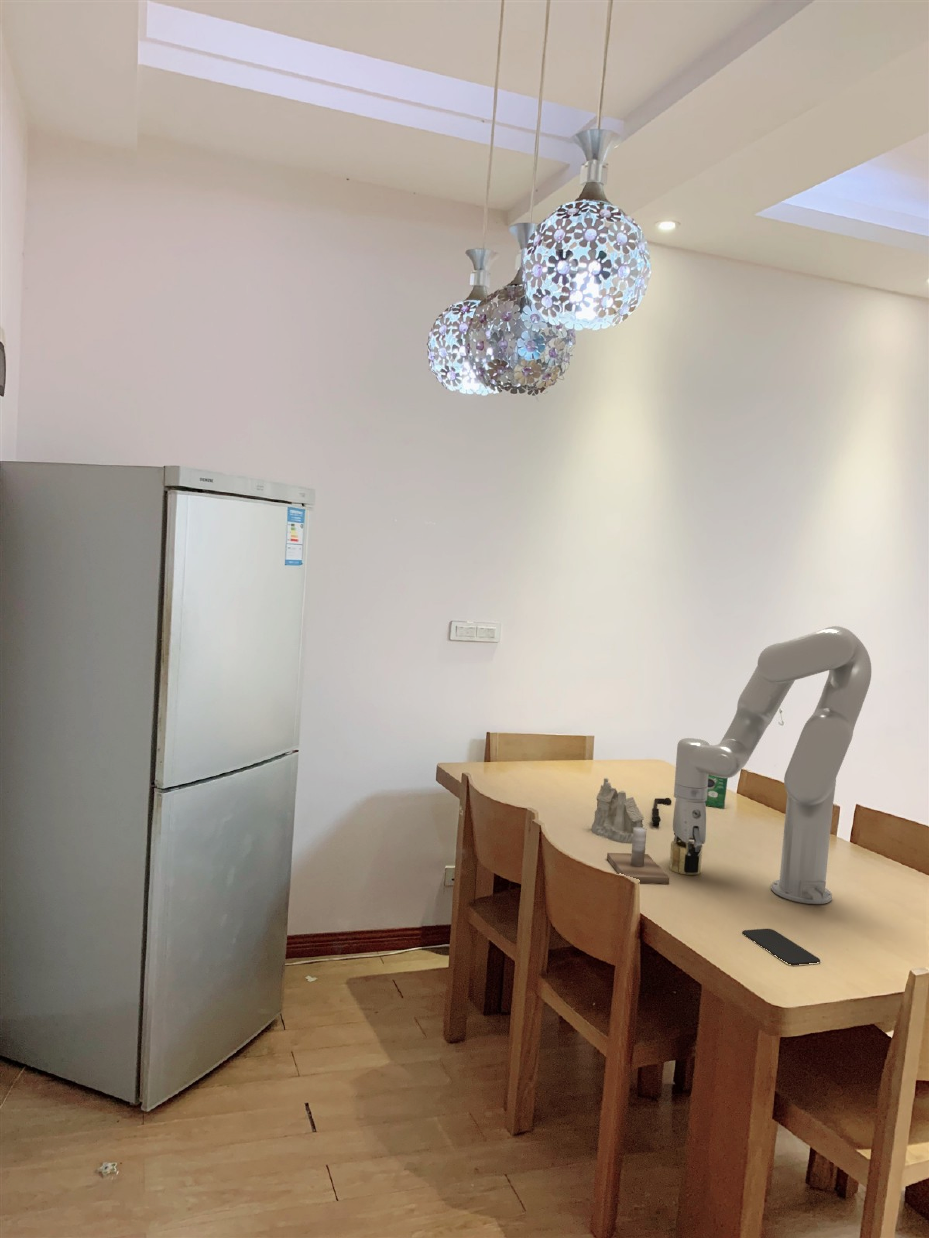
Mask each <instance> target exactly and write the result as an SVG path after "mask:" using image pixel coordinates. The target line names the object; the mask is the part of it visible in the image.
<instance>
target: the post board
mask: <svg viewBox="0 0 929 1238" xmlns="http://www.w3.org/2000/svg"><path fill="white" fill-rule="evenodd" d="M646 843H647V828H645V827H644V826H643V827H634V828H633V841H632V844H631V853H628V852H627V853H626V852H625V853H624V852H623V853H622V852H621V853H620V852H607V855H606V859H607V861H608V863H609V864H610V865H611V866H612V867H613V869H614V870H615V872H616V873H617V874H618V873H621V874H624V875H626V876H630V877H633V878H636V879H639V880H640V883H639V884H644V883H665V884H664V885H670V877H669V876H668V874H666V872H665V871H664V870H663V869H662V868H661V866H660V865H658V863H657V862H656V861H655V860H654V859H653V858H652V857H651V856H650V855H649V853H646Z"/></svg>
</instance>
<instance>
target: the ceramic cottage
mask: <svg viewBox="0 0 929 1238" xmlns="http://www.w3.org/2000/svg"><path fill="white" fill-rule="evenodd" d="M596 801H597V802H596V810H595V811H594V820H593V822H592V825H591V829H590V830H591V832H592V833H593V834H595V835H597V836H599V837H602V838H605V839H608V840H610V841H614V842H617V843H621V844H627V845H628V844H631V845H632V841H633V828H634V827H643V828H644V824H643V821H644V815H643V813H642V812H641V811H640V809H639V807H638V806H637V805H638V804H637V803H636V801H635V799H634V797H633V796H629V797H627V793H626V791H624V790H620V791H619V792H618V790H617V789H616V788H615V787H612V785H611V782H609V778H608V777H605V778H603V784H600V788H599V791H598V793H597V795H596Z"/></svg>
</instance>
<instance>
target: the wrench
mask: <svg viewBox="0 0 929 1238" xmlns="http://www.w3.org/2000/svg"><path fill="white" fill-rule="evenodd" d="M658 804H659V805H665V804H667V805H666V806H671V805H672V799H671V798H670V797H665V798H660V797H657V798H654V800H653V807H652V809H651V822H652V826H653V827H656V828H658V827H660V822H661V821H662V819H661V817H660V814H659V813H660V812H659V811H660V809H659V808H658Z"/></svg>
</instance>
